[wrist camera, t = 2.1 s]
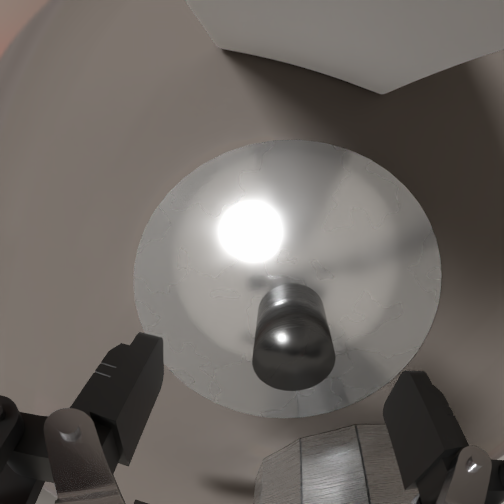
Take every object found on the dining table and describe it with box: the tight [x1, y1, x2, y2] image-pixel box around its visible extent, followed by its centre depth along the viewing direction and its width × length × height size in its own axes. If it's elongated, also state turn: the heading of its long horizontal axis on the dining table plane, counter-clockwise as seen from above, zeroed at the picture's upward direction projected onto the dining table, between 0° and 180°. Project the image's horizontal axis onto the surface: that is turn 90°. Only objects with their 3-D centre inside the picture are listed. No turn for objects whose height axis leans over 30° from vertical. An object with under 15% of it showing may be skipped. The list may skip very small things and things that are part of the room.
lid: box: [133, 140, 442, 418], centre depth 13 cm, size 15×15×4 cm
